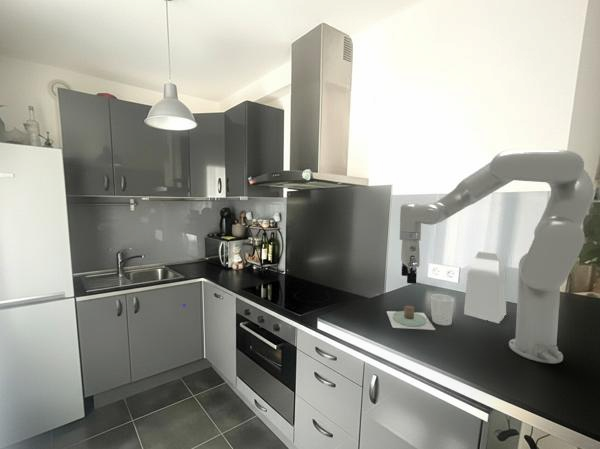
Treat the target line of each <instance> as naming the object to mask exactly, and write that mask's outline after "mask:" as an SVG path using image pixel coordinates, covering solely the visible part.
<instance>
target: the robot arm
mask: <svg viewBox="0 0 600 449" xmlns="http://www.w3.org/2000/svg"><path fill="white" fill-rule="evenodd" d="M591 178H592V177H591V176H590V174H589V173H588V171H587V170H586V169H585V161H584V159H583V158H582V156H581V155H580V154H579V153H576V152H574V151H570V150H566V149H561V150H560V149H552V150H551V149H542V150H540V149H530V150H529V149H527V150H526V149H509V150H507V149H506V150H504V151H501V152H499V153H497V154H496V155H495V156H494V157H493V158H492V160H491V161H490V162H488V163H487V164H485V165H484V166H482V167H481V168H479V169H478V170H477V171H474V172H473V173H472V174H470V175H468V176H467V177H465V178H464V179H462V180H461V181H460V182H459V183H458V184H457V185H456V187H455V188H453V189H452V191H450V192H449V193H448V194H446V195H445V196H443V197H441V198H440V199H438V200H437V201H435V202H433V203H426V204H420V203H419V204H418V203H405V204H404V203H403V204H402V205H401V206H400V209H399V210H400V211H399V212H400V215H399V217H400V218H399V220H400V221H399V223H400V224H399V240H400V241H401V249H400V250H401V251H400V252H401V254H400V255H401V256H400V258H401V276H403V277H406V283H407V284H411V285H414V284H417V273H418V271H417V268H420V265H421V264H420V263H421V262H420V261H421V259H420V258H421V256H420V253H421V252H420V241H422V239H421V238H422V236H421V235H422V234H421V233H422V225H423V224H424V225H427V226H428V225H429V226H431V225H436V224H439V223H442V222H444V221H445V220H447V219H448V218H450V217H452V216H454V215H455V214H457V213H459V212H460V211H462V210H464V209H465V208H468V207H469V206H471V205H474V204H475V203H478V202H479V201H480V200H483V199H484V198H486V197H487V196H489V195H491V194H492V193H494V192H496V191H497V190H500V189H501V188H502V187H503V188H504V187H505V186H506V185H508V184H510V183H511V182H513V181H519V182H532V183H533V182H535V183H536V182H539V183H545V184H548V186H549V188H550V196H549V199H548V201H547V203H546V207H545V209H544V211H543V213H542V216H541V218H540V220H539V222H538V223H537V225H536V226H535V229H534V232H533V234H534V238H533V240H532V242H531V244H530V247H529V249H528V252H527V253H525V254H523V256H521V258H520V259H519V262H518V284H517V285H518V286H517V299H516V300H517V301H516V302H517V303H516V304H517V305H516V318H515V319H516V322H515V338H512V339H510V340H509V341H508V347H509V348H510V349H511V350H512V351H513V352H514V353H515V354H517V355H519V356H521V357H522V358H526V359H528V360H530V361H531V360H532V361H535V362H539V363H544V364H560V363H561V362H563V360H564V355H563V353H562V352H561V351H559V347H558V346H557V343H558V341H557V339H558V327H559V326H558V325H559V310H560V301H561V300H560V299H561V298H560V296H561V294H560V293H561V287H562V286H563V285H564V283H565V282H566V280H567V279H568V277H569V276H570V273H571V272H572V270H573V267H574V265H575V263H576V262H577V261H578V260H577V259H578V257H580V256H579V255H580V253H581V251H582V249H583V246H584V244H585V240H586V239H585V238H586V237H585V232H584V230H583V229H582V224H583V222H584V220H585V218H586V215H587V213H588V210H589V208H590V206H591V204H592V201H593V197H594V182H593V181H592V179H591Z"/></svg>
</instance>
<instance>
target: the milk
mask: <svg viewBox="0 0 600 449" xmlns="http://www.w3.org/2000/svg"><path fill="white" fill-rule="evenodd" d="M506 284H507V283H506V269H505V267H504V265H503V263H502V262H501V260H500V258H499V256H498V253H497V252H493V251H492V252H490V251H481V250H479V251H478V252H477V253H476V256H475V257H474V259H473V260H472V262H471V264H470V265H469V267H468V269H467V276H466V286H465V287H466V288H465V298H464V309H463V315H466V316H468V317H469V316H470V317H473V318H477V319H480V320H484V321H487V320H488V321H489V322H491V323H496V324H500V323H501V322H502V320H503V319H504V318H505V317H506V316H507V293H506V292H507V290H506V289H507V288H506V287H507V286H506ZM505 315H506V316H505ZM504 316H505V317H504ZM500 321H501V322H500Z"/></svg>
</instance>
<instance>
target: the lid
mask: <svg viewBox="0 0 600 449" xmlns="http://www.w3.org/2000/svg"><path fill="white" fill-rule="evenodd" d="M395 312H396V313H394V314H393V319H394V321H395V322H397V323H399V324H401V325H405V326H410V327H419V326H423V325H425V323H426V319H425V317H424V316H422V315H420V314H418V313H419V312H416V313H415V307H414V306H412V305H405V306H404V309H403V310H401V311H395Z"/></svg>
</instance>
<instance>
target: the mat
mask: <svg viewBox="0 0 600 449" xmlns="http://www.w3.org/2000/svg"><path fill="white" fill-rule="evenodd" d="M396 312H397V311H395V310H394V311H393V310H390V311H386V315H387V316H388V319H389V322H390V324H391V327H392V328H395V329H410V330H411V329H413V330H426V331H427V330H430V331H436V328H435V327H434V325H433V323H432V322H431V321H430V320H429V318H428V317H427V316H426V314H425V312H415V311H414V312H415V313H418V314H420V315H422V316H424V317H425V319H426V323H425V325H423V326H419V327H410V326H405V325H401V324H399V323H397V322H395V321H394V319H393V314H394V313H396Z"/></svg>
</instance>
